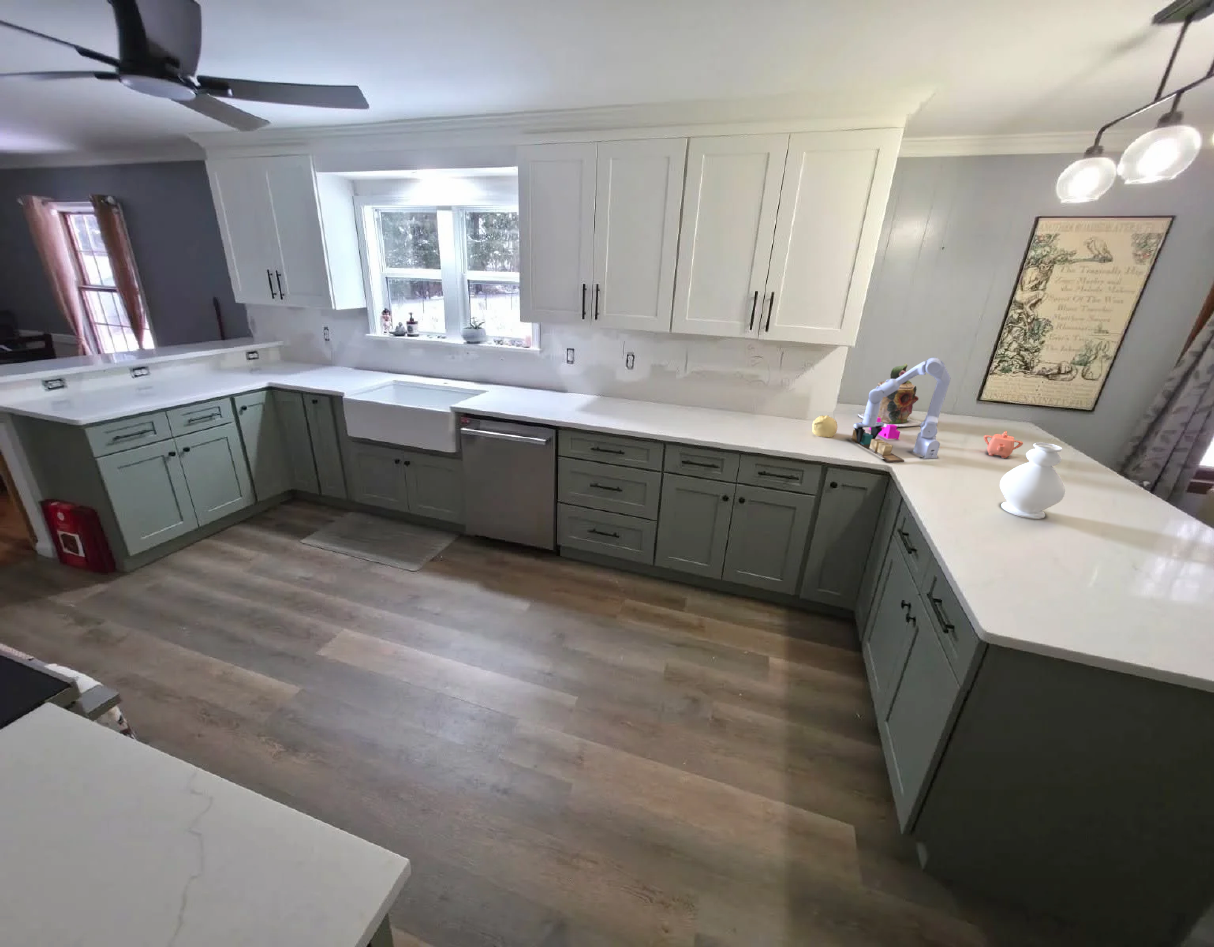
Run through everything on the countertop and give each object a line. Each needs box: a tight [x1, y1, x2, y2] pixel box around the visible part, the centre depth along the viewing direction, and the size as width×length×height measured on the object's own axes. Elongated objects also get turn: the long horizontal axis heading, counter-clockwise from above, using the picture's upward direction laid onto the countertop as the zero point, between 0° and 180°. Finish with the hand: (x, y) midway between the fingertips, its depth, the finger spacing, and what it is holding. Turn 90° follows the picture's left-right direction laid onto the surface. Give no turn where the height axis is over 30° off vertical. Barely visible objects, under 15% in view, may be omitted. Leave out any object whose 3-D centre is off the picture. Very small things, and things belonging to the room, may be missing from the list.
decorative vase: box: [999, 441, 1066, 520], centre depth 174 cm, size 18×18×25 cm
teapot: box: [983, 430, 1024, 459], centre depth 229 cm, size 14×12×10 cm
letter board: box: [847, 429, 905, 464], centre depth 234 cm, size 31×8×6 cm, turn 9°
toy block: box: [868, 417, 901, 441], centre depth 254 cm, size 15×6×8 cm, turn 7°
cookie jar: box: [857, 363, 923, 428], centre depth 272 cm, size 25×25×32 cm
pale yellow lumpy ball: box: [811, 414, 838, 438], centre depth 251 cm, size 11×12×11 cm
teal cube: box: [859, 432, 873, 445], centre depth 240 cm, size 4×4×4 cm
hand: (865, 441), depth 241 cm, fingers open, 6 cm apart
